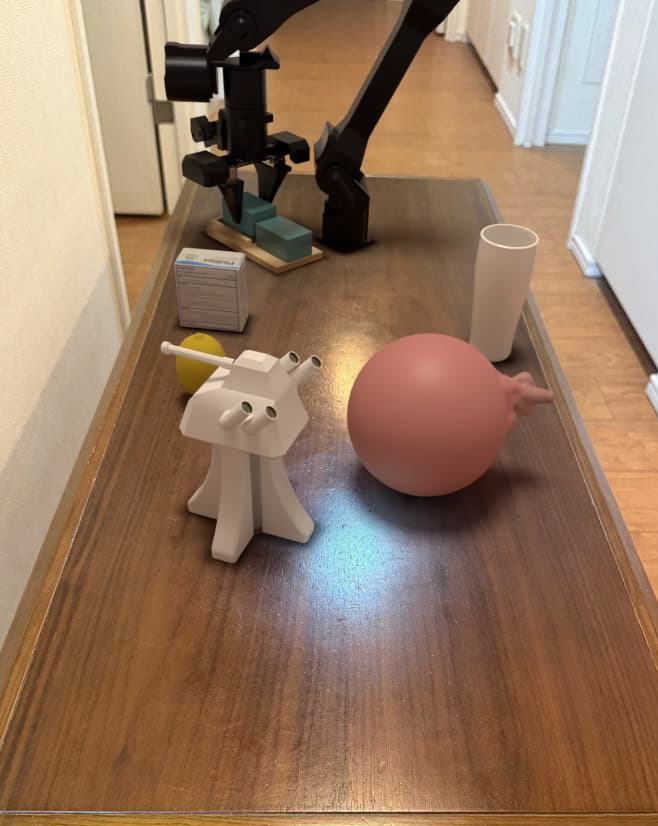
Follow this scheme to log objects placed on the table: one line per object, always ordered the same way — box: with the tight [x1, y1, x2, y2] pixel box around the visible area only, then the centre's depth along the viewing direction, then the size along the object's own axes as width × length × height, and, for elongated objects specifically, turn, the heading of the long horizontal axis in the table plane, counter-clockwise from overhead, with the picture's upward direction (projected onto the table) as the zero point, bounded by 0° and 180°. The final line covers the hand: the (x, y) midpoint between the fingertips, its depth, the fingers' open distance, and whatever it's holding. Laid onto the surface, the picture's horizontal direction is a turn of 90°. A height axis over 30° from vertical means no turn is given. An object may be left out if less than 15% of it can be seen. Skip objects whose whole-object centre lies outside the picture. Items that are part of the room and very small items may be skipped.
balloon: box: [346, 332, 556, 497], centre depth 80 cm, size 15×20×15 cm
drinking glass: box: [468, 223, 540, 363], centre depth 99 cm, size 7×7×15 cm
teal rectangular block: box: [221, 190, 278, 237], centre depth 122 cm, size 7×5×3 cm, turn 43°
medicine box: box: [173, 247, 250, 333], centre depth 103 cm, size 8×4×9 cm, turn 84°
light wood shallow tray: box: [206, 214, 324, 275], centre depth 121 cm, size 16×9×4 cm, turn 44°
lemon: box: [175, 332, 227, 396], centre depth 91 cm, size 6×6×8 cm
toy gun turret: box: [160, 340, 323, 564], centre depth 73 cm, size 12×13×18 cm
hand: (250, 218), depth 122 cm, fingers closed on teal rectangular block, 4 cm apart
